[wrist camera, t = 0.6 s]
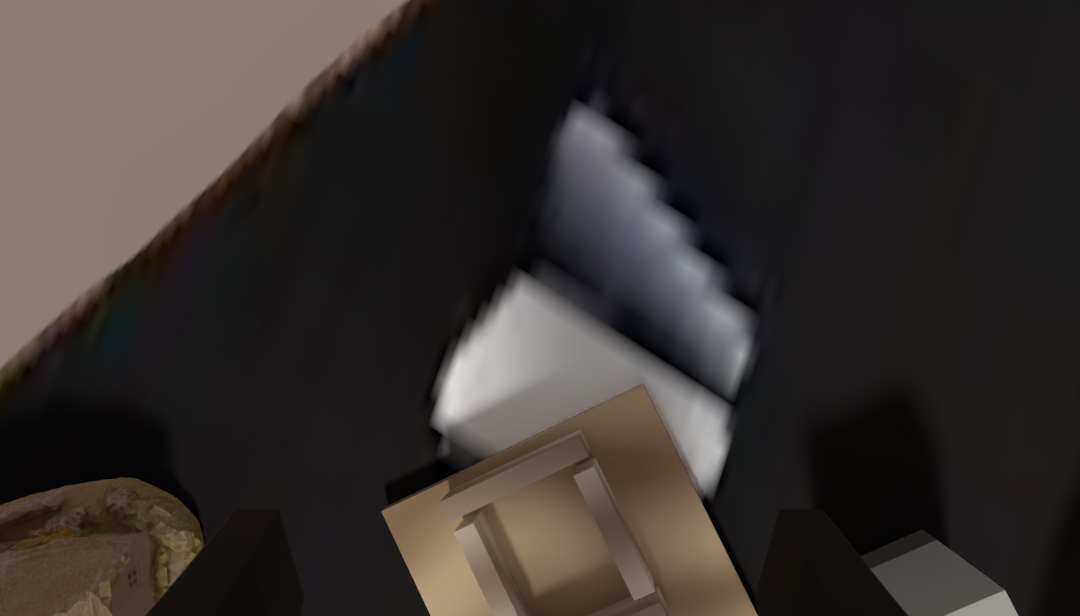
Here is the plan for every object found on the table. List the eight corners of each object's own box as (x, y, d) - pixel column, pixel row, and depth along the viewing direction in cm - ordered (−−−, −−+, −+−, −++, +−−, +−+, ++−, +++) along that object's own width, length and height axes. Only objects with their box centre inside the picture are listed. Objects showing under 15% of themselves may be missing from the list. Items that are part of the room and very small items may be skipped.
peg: (952, 588, 33) (1043, 666, 26) (850, 632, 33) (913, 719, 26) (922, 529, 33) (1004, 590, 26) (821, 573, 33) (875, 644, 26)
